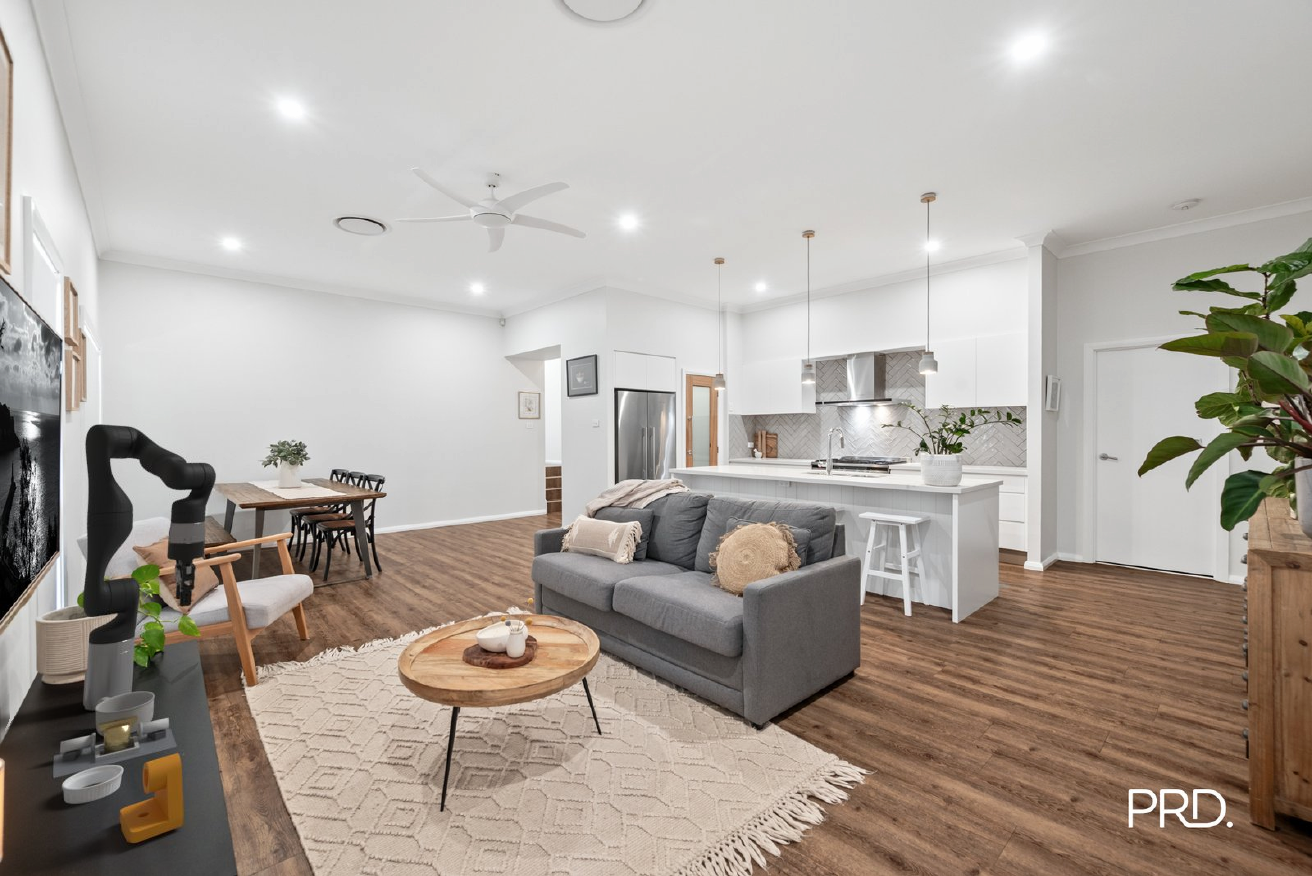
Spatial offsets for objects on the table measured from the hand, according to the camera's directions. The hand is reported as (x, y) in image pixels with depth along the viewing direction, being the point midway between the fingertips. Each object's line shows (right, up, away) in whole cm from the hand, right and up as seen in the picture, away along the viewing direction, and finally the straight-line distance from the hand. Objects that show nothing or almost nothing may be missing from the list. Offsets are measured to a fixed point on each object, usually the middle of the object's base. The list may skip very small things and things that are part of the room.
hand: (183, 602), depth 153 cm
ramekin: (+10, -29, -35) cm, 47 cm away
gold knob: (+1, -28, -20) cm, 34 cm away
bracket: (+29, -30, -44) cm, 60 cm away
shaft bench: (+1, -29, -20) cm, 35 cm away
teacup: (-8, -29, -9) cm, 32 cm away
